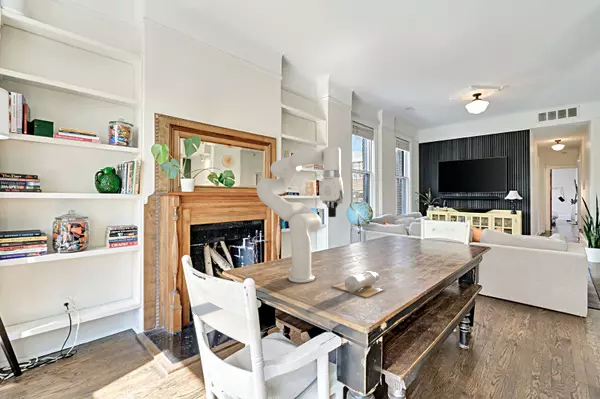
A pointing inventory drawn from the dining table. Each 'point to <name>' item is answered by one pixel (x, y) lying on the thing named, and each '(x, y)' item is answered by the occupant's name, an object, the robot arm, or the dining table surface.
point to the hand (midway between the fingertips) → (332, 216)
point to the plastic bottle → (361, 281)
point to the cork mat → (362, 292)
